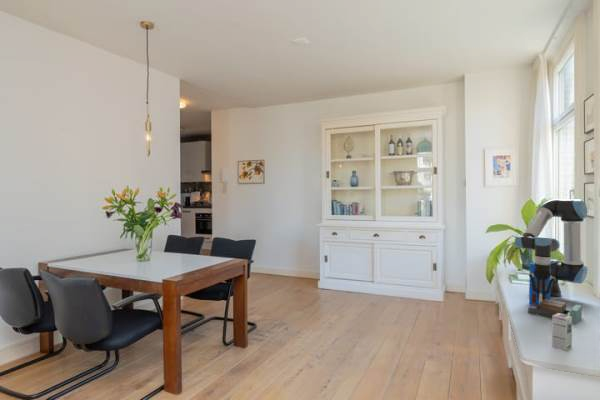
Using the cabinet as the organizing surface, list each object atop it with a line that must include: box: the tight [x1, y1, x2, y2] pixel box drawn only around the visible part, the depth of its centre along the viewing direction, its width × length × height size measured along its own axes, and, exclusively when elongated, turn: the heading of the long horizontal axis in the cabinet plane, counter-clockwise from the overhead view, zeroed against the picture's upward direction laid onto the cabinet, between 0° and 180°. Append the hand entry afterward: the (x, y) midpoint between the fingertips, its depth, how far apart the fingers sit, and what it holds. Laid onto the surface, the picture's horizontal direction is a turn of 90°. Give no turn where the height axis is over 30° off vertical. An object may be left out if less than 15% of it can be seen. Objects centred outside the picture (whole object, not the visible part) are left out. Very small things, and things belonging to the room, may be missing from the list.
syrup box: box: [551, 313, 573, 352], centre depth 164 cm, size 6×6×14 cm
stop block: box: [570, 304, 583, 325], centre depth 198 cm, size 13×3×7 cm, turn 133°
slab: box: [539, 299, 567, 314], centre depth 206 cm, size 12×10×4 cm
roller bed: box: [527, 304, 571, 319], centre depth 206 cm, size 11×20×3 cm, turn 43°
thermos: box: [528, 261, 551, 306], centre depth 225 cm, size 11×11×25 cm
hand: (540, 304), depth 210 cm, fingers closed
